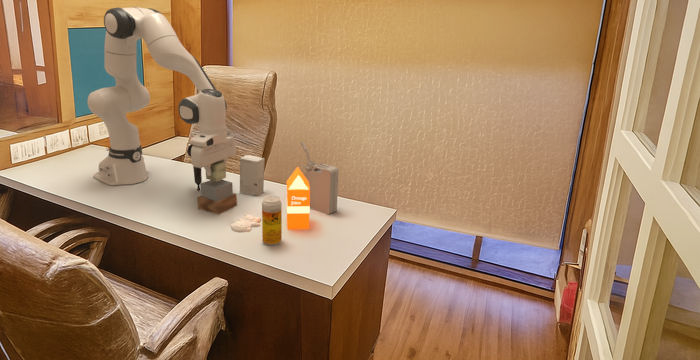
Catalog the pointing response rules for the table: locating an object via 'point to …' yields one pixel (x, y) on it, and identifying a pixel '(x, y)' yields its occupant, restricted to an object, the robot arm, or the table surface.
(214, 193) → the slate top block
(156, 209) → the table surface
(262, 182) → the skincare box
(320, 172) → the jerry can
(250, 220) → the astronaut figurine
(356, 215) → the table surface
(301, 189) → the orange juice
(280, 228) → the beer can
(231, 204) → the walnut base block
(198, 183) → the microphone
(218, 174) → the sage cube
